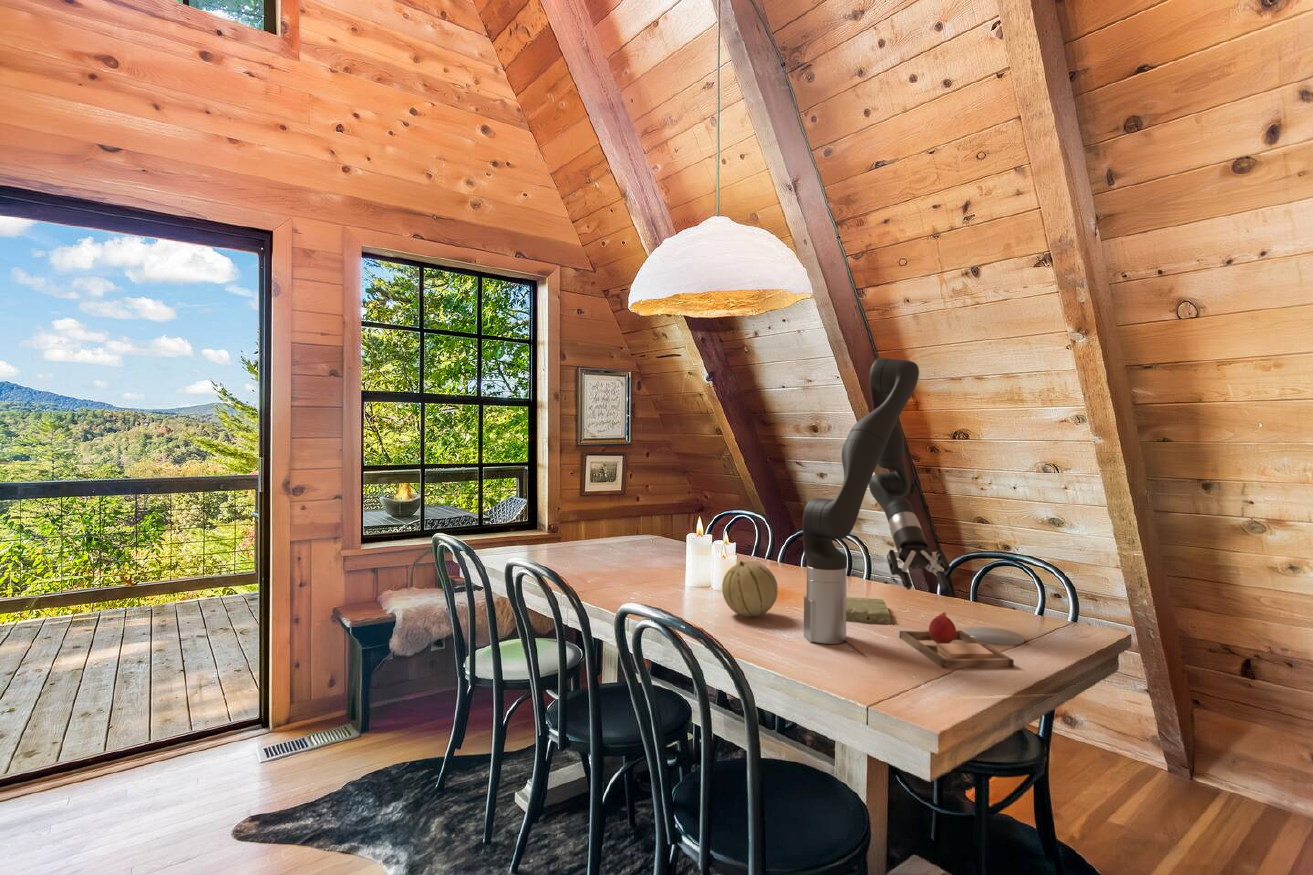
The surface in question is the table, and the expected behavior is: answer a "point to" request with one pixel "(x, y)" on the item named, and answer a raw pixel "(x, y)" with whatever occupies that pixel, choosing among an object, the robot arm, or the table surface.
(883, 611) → the green flat block
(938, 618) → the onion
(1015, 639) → the plate
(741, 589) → the cantaloupe
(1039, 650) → the table surface
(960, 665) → the brown flat frame
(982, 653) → the offcut top
